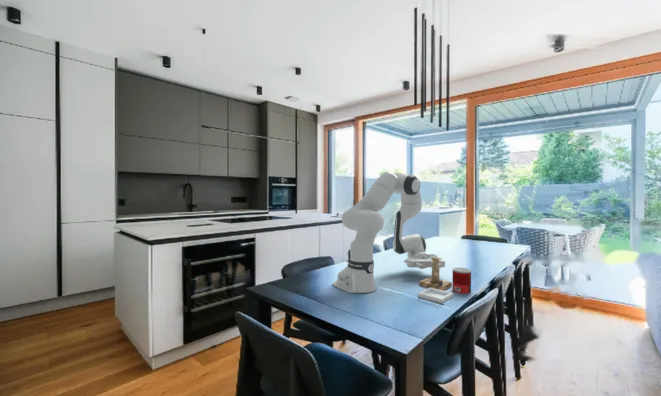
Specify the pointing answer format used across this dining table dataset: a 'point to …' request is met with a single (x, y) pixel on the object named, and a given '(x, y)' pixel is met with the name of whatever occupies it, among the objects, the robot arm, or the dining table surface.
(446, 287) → the socket block
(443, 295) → the tray
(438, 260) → the dowel
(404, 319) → the dining table surface
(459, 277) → the canned food
